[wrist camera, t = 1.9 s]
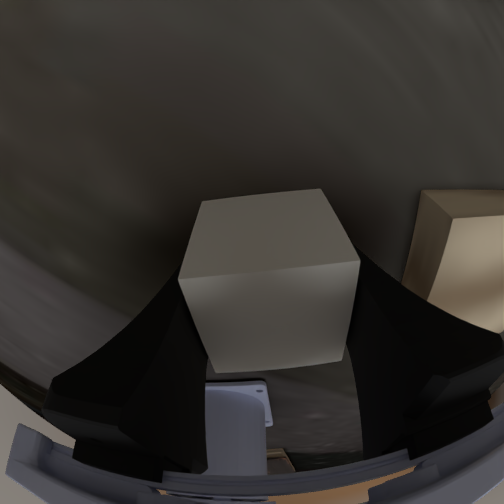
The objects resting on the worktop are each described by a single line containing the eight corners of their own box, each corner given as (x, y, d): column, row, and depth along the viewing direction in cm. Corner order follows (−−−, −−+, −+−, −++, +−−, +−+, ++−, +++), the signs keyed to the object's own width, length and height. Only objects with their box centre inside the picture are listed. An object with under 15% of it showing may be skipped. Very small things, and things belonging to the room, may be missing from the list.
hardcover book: (284, 443, 31) (286, 458, 29) (296, 467, 44) (297, 476, 42) (176, 446, 33) (175, 459, 31) (222, 471, 46) (221, 480, 44)
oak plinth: (485, 304, 16) (502, 331, 13) (382, 330, 16) (395, 368, 14) (528, 188, 10) (558, 212, 8) (416, 185, 11) (453, 218, 8)
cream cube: (319, 279, 13) (341, 360, 9) (222, 289, 13) (215, 373, 10) (320, 188, 10) (360, 260, 7) (202, 201, 11) (177, 279, 7)
